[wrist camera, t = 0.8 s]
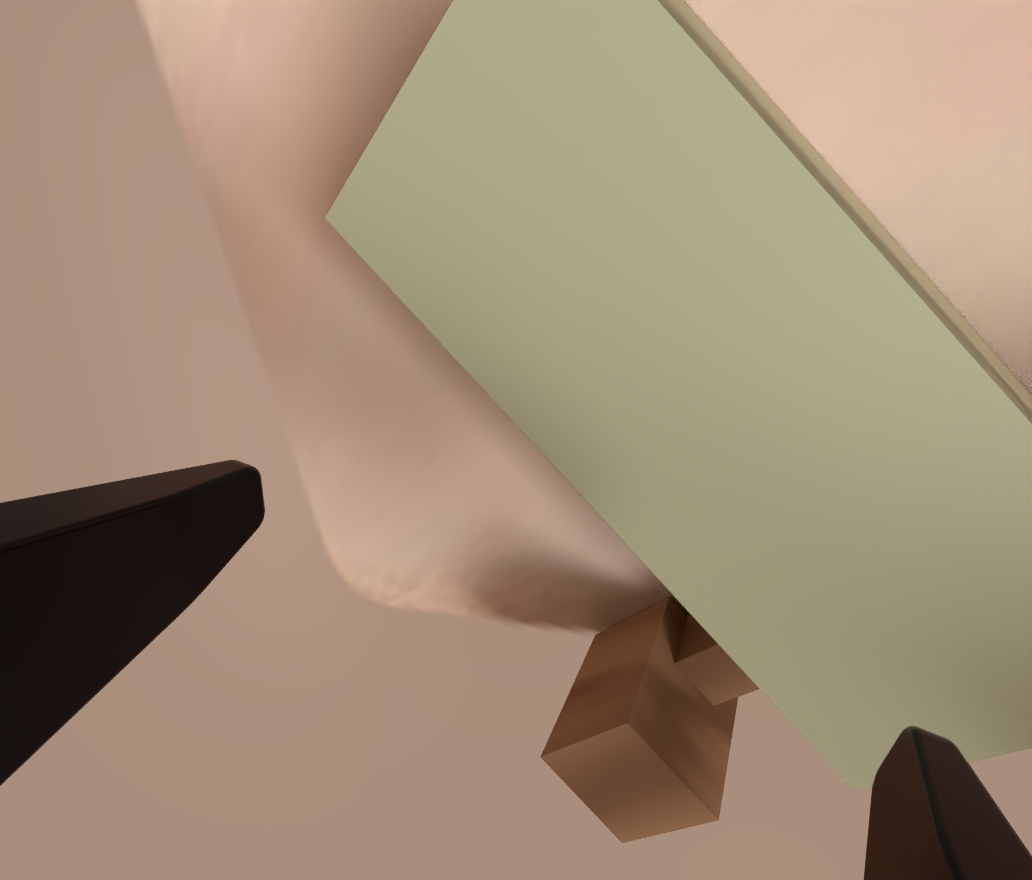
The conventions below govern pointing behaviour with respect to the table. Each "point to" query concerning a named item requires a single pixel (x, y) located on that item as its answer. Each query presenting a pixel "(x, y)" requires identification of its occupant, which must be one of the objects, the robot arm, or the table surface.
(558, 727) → the pusher tool
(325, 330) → the table surface
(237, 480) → the robot arm
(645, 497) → the plinth shelf
